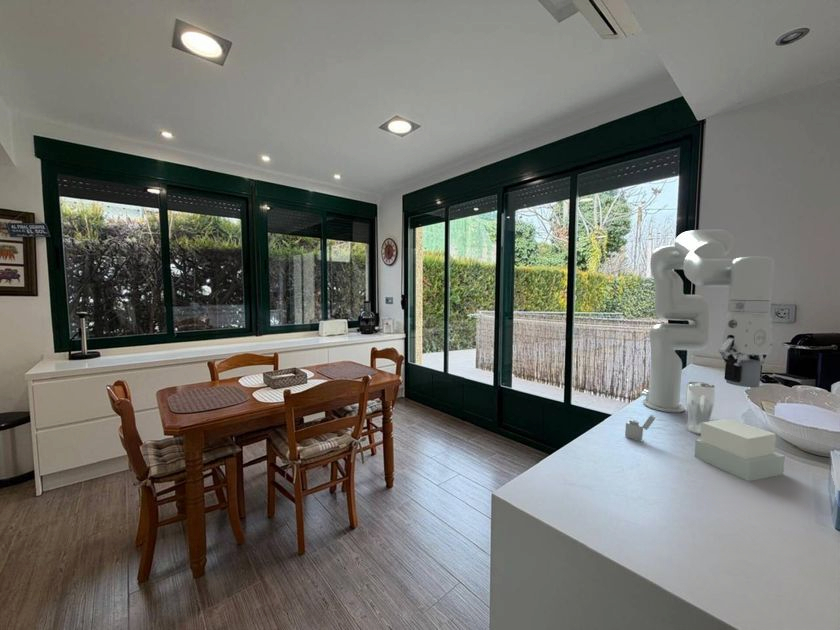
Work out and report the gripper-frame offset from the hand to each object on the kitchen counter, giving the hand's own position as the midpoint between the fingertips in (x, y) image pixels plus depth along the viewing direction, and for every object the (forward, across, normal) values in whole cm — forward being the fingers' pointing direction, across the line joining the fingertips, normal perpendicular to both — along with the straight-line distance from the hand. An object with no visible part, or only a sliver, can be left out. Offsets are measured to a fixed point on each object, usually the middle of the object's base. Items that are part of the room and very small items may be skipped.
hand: (742, 379), depth 84 cm
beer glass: (+22, +12, +18) cm, 31 cm away
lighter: (+22, -11, +18) cm, 31 cm away
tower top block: (+18, 0, 0) cm, 18 cm away
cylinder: (+1, 0, 0) cm, 1 cm away
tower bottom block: (+23, +1, 0) cm, 23 cm away
